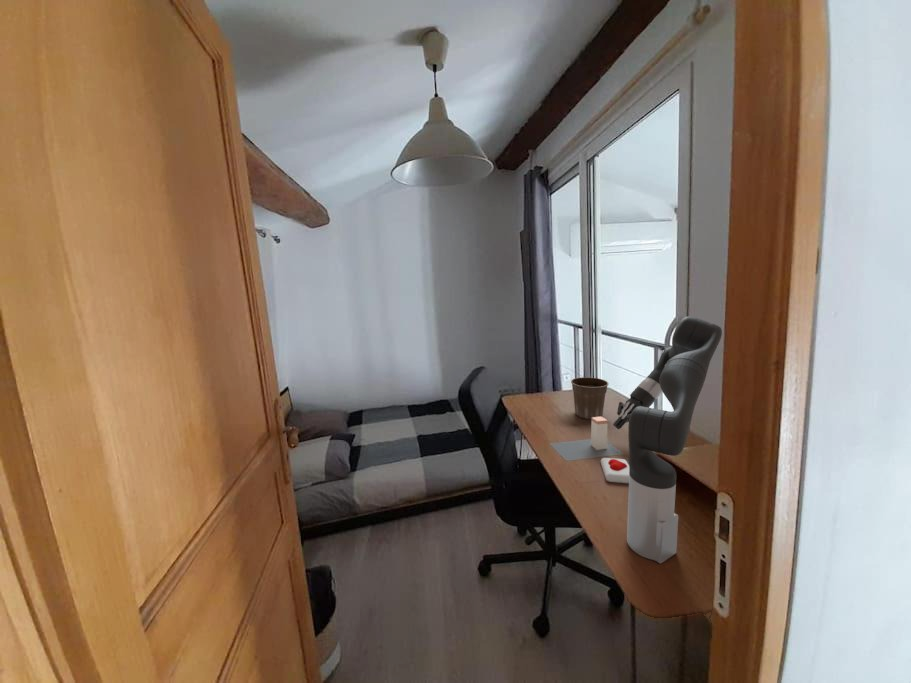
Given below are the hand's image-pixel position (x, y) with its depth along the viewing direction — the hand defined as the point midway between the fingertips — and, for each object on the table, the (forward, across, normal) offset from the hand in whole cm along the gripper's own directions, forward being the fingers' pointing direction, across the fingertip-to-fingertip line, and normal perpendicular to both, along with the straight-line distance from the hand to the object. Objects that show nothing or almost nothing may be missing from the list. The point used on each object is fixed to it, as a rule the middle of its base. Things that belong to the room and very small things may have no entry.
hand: (615, 427), depth 129 cm
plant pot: (0, -32, +11) cm, 33 cm away
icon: (+13, +17, -1) cm, 22 cm away
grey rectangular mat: (+14, 0, -3) cm, 14 cm away
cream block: (+10, 0, 0) cm, 10 cm away
